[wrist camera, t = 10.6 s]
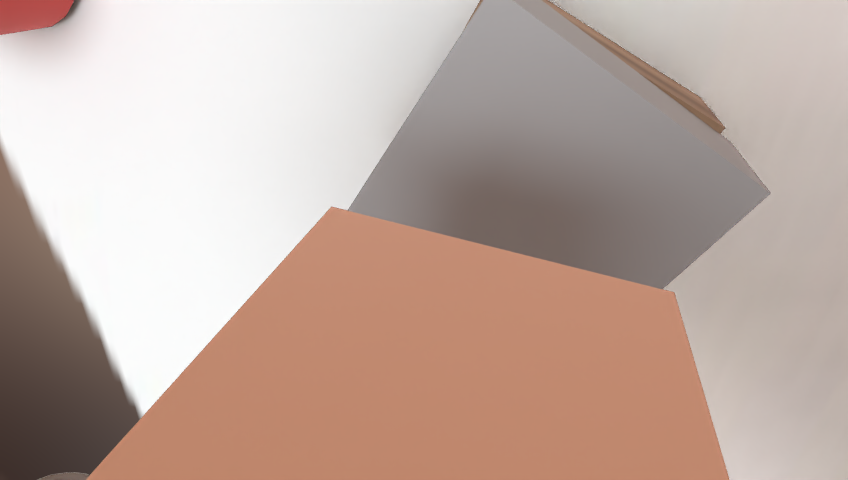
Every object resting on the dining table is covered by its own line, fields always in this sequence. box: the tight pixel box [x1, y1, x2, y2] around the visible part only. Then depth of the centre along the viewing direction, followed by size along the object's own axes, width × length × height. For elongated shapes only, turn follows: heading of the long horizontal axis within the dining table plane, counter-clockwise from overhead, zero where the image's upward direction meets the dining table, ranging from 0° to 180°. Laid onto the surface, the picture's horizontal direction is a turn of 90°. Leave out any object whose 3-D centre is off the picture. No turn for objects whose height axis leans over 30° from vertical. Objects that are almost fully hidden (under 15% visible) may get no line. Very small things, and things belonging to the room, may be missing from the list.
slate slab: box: [348, 0, 771, 289], centre depth 21 cm, size 10×10×5 cm
